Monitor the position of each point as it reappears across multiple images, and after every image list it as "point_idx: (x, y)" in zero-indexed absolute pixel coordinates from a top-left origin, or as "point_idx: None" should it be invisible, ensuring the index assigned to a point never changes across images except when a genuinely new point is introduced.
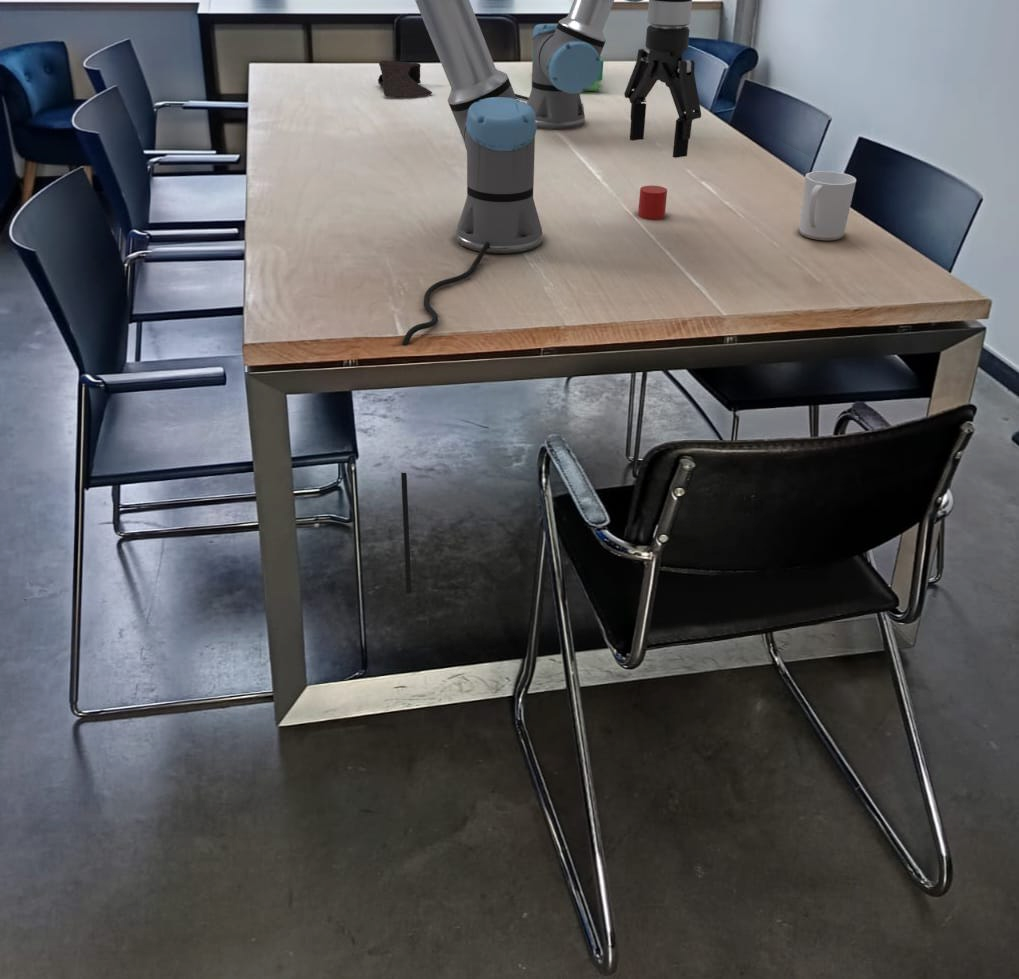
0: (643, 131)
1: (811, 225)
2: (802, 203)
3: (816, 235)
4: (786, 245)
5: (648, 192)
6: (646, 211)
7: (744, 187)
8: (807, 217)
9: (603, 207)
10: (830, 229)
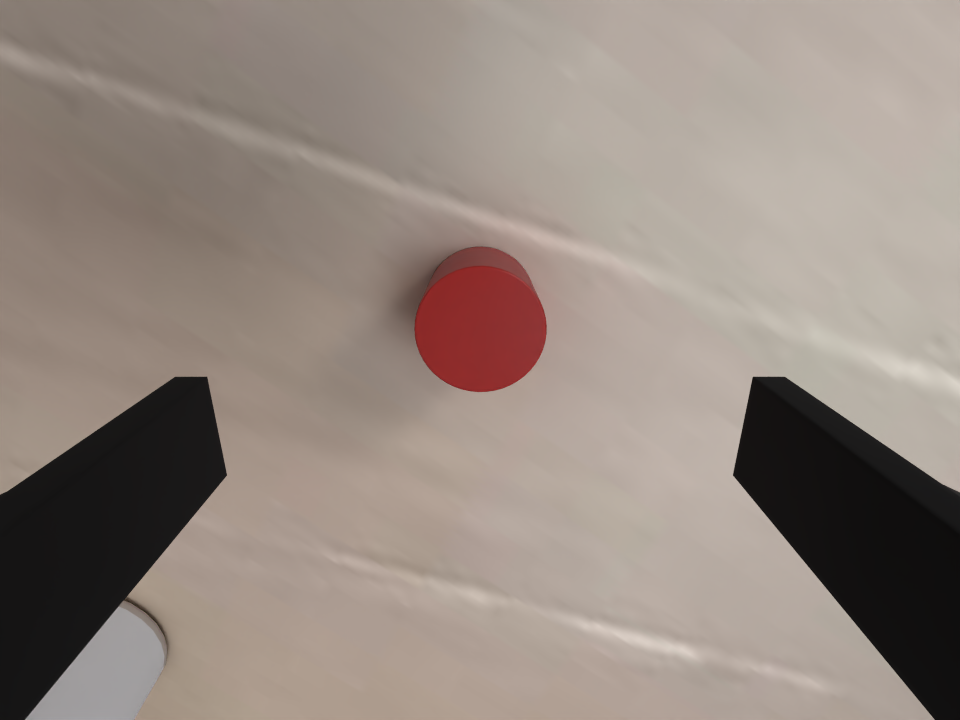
0: (763, 505)
1: None
2: (62, 683)
3: None
4: None
5: (445, 276)
6: (451, 258)
7: (581, 716)
8: None
9: (667, 176)
10: None
